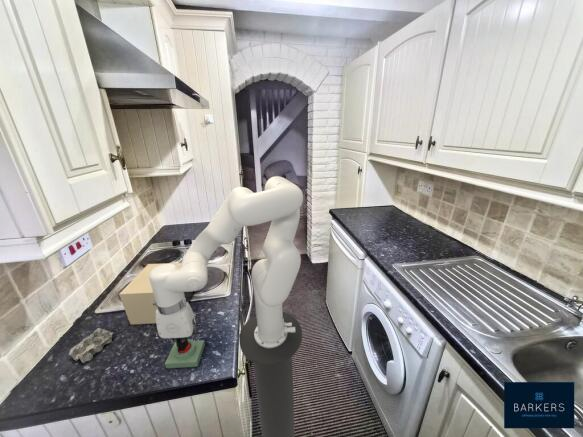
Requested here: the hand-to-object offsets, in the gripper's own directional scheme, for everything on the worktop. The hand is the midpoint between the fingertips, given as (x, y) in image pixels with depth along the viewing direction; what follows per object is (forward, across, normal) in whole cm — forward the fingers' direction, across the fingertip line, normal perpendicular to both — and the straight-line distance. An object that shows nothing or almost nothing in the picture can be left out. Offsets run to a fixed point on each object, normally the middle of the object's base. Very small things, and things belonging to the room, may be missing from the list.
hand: (183, 347), depth 75 cm
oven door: (+4, -7, +25) cm, 26 cm away
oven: (+4, -19, +25) cm, 32 cm away
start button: (+2, 0, 0) cm, 2 cm away
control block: (+4, 0, 0) cm, 4 cm away
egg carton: (+5, -34, +5) cm, 35 cm away
